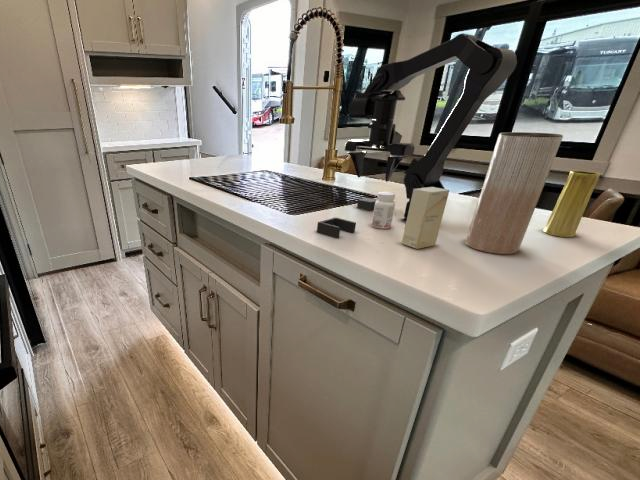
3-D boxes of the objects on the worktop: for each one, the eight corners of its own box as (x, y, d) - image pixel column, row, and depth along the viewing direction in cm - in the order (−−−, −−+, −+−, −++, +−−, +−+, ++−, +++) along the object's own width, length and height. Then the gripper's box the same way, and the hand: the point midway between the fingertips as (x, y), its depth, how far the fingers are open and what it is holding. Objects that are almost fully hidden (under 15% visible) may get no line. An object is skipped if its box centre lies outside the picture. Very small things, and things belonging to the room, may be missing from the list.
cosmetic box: (416, 249, 78) (430, 192, 72) (400, 243, 81) (412, 188, 75) (436, 245, 80) (451, 189, 74) (419, 239, 84) (432, 185, 78)
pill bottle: (387, 224, 95) (394, 191, 91) (392, 229, 90) (399, 195, 86) (369, 223, 95) (374, 191, 91) (373, 228, 91) (379, 195, 87)
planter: (507, 241, 82) (547, 132, 72) (526, 256, 74) (575, 136, 63) (459, 237, 85) (491, 131, 74) (472, 252, 76) (511, 135, 65)
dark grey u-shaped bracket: (354, 232, 88) (356, 222, 87) (337, 238, 84) (338, 227, 83) (334, 226, 93) (335, 217, 91) (316, 232, 89) (317, 222, 87)
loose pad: (378, 208, 109) (380, 200, 108) (369, 210, 107) (371, 202, 105) (365, 205, 112) (366, 197, 111) (356, 207, 110) (358, 199, 108)
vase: (570, 231, 89) (597, 171, 82) (578, 239, 84) (608, 175, 77) (540, 228, 91) (564, 169, 84) (546, 235, 86) (572, 173, 79)
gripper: (430, 120, 96) (417, 180, 103) (369, 118, 109) (361, 172, 116) (409, 120, 90) (396, 185, 97) (347, 119, 103) (340, 176, 110)
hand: (372, 179), depth 105 cm, fingers open, 9 cm apart
